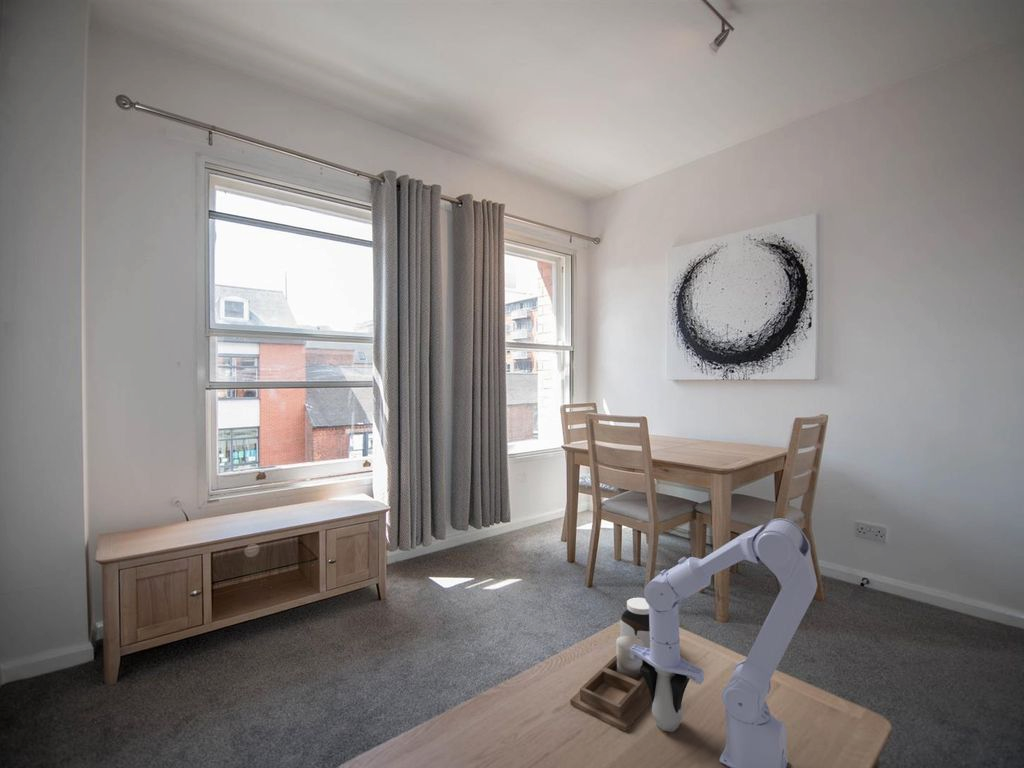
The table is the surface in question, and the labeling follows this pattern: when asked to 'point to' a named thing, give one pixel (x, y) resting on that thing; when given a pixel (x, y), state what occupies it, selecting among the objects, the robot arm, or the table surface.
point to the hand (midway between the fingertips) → (666, 705)
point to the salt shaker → (665, 703)
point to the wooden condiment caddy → (616, 688)
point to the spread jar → (636, 620)
